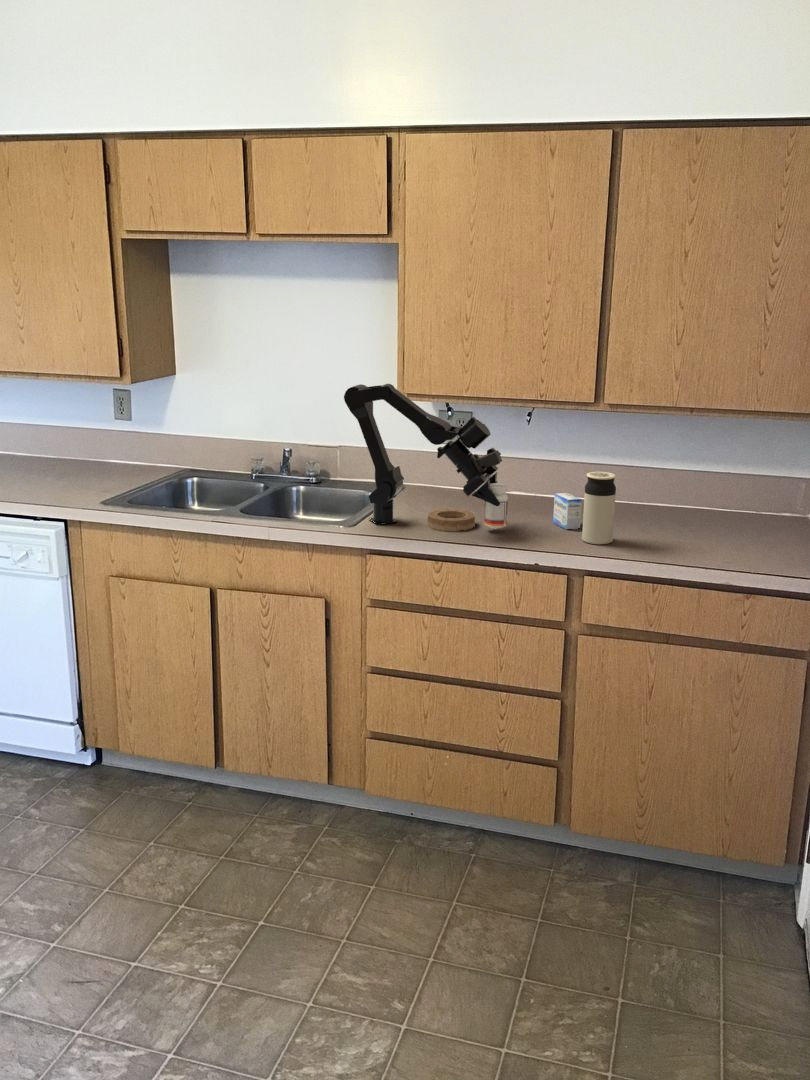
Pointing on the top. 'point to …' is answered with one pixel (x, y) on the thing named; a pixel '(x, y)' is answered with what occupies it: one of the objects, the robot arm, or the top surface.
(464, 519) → the walnut ring
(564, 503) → the medicine box
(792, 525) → the top surface
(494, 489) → the pill bottle
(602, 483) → the travel mug
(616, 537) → the top surface
